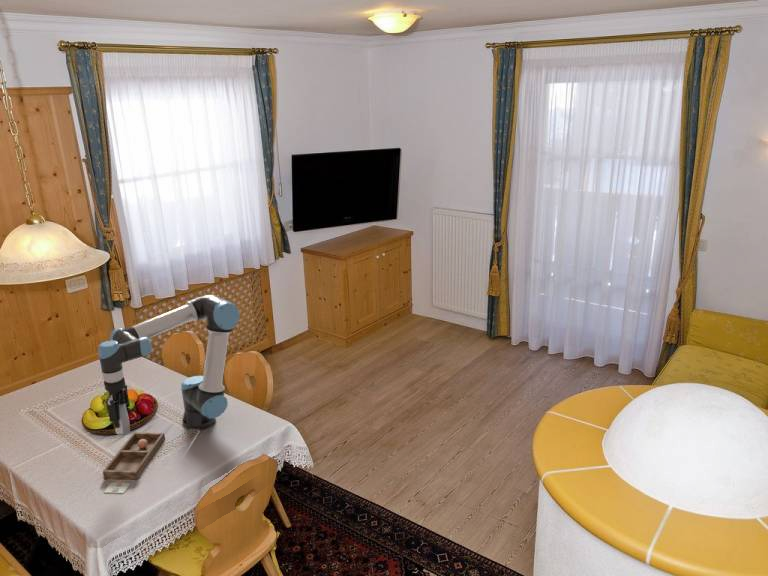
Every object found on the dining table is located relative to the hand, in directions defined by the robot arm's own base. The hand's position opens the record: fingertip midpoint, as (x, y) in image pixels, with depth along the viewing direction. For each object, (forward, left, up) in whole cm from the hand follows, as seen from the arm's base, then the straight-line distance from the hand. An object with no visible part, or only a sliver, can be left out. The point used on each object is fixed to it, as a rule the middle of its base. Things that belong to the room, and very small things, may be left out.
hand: (123, 429), depth 239 cm
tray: (+1, -7, -20) cm, 21 cm away
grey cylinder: (0, 0, -1) cm, 1 cm away
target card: (0, +12, -20) cm, 23 cm away
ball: (+1, -14, -19) cm, 24 cm away
